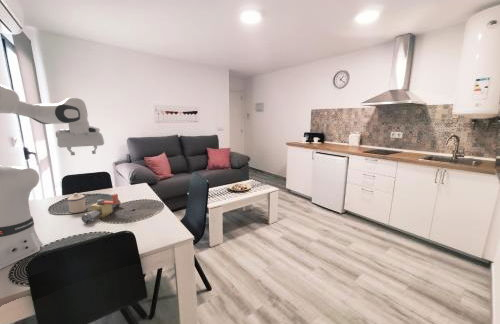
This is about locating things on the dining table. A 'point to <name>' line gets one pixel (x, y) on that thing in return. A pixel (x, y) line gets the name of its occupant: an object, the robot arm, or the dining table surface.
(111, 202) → the valve lever
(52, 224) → the dining table surface
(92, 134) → the robot arm
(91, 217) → the valve pipe
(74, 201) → the teacup with lid
